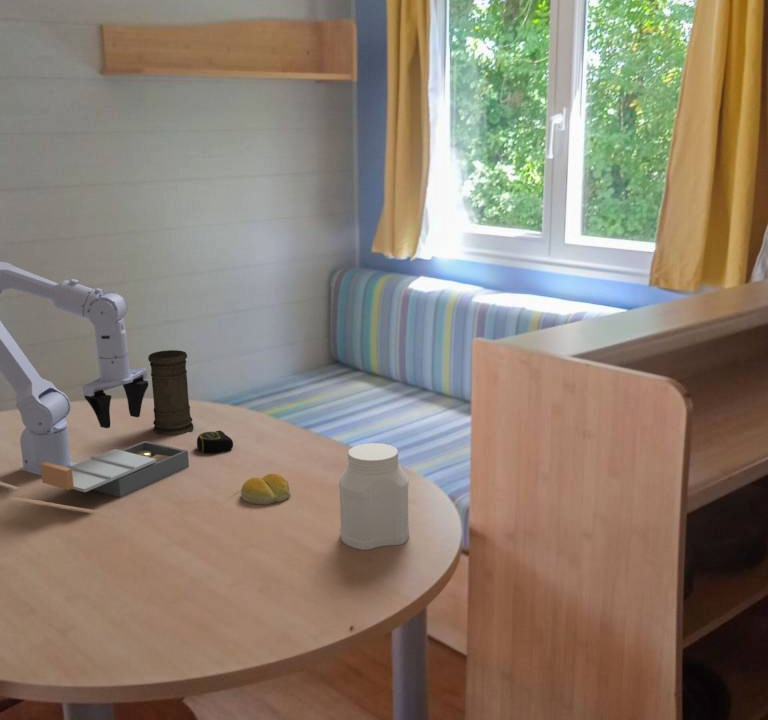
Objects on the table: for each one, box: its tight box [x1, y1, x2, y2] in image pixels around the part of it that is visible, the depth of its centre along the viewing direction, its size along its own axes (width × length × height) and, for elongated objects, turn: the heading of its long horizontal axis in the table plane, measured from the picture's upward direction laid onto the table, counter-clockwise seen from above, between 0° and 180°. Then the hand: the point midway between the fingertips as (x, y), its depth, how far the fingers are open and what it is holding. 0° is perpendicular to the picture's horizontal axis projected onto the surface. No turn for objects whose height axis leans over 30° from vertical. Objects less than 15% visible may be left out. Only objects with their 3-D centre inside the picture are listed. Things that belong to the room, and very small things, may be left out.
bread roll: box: [240, 473, 292, 505], centre depth 174 cm, size 8×9×4 cm
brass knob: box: [135, 451, 152, 468], centre depth 189 cm, size 3×3×3 cm
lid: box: [40, 448, 156, 493], centre depth 175 cm, size 11×19×4 cm, turn 148°
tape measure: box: [196, 429, 234, 455], centre depth 198 cm, size 7×7×4 cm
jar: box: [338, 442, 410, 551], centre depth 155 cm, size 12×10×15 cm
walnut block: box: [146, 454, 170, 467], centre depth 186 cm, size 4×4×2 cm
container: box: [147, 349, 195, 436], centre depth 210 cm, size 9×9×18 cm
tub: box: [92, 440, 190, 498], centre depth 184 cm, size 12×18×4 cm, turn 148°
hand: (120, 421), depth 186 cm, fingers open, 7 cm apart
